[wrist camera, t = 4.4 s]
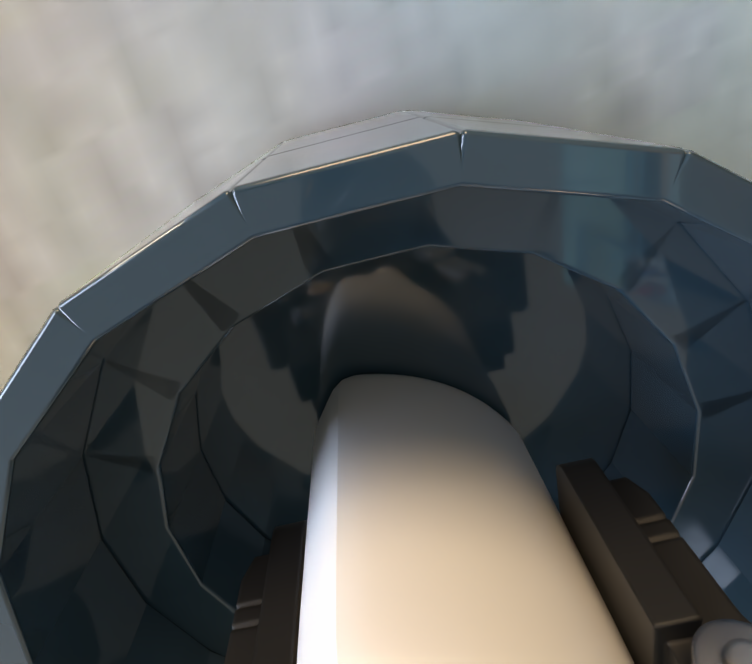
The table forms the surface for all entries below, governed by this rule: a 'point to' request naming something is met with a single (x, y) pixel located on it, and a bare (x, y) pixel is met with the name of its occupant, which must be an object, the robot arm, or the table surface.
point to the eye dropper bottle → (438, 539)
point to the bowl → (371, 361)
